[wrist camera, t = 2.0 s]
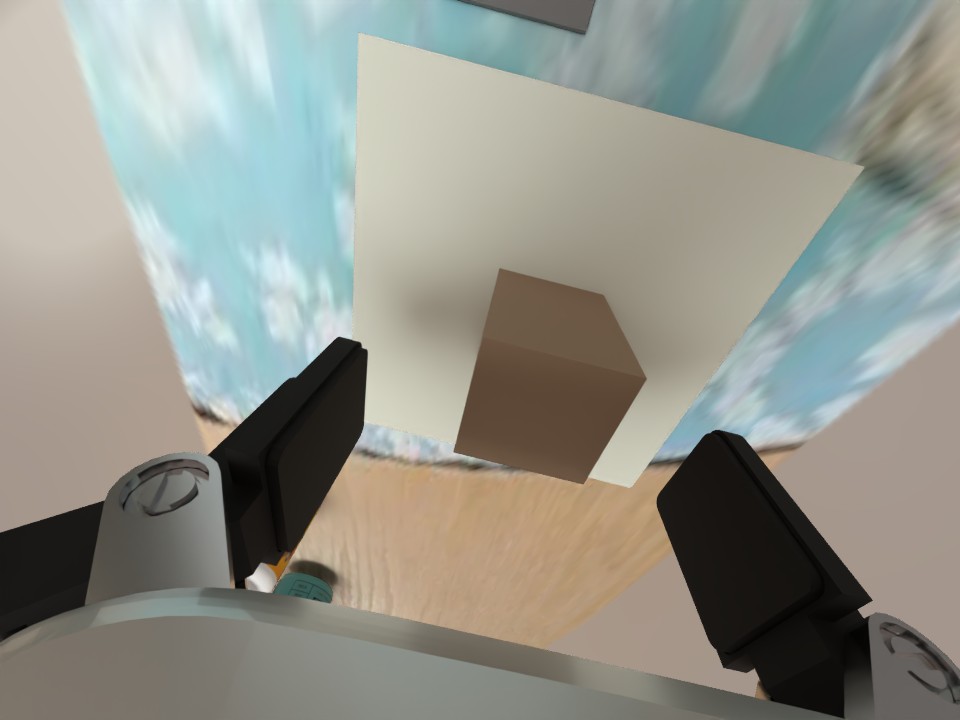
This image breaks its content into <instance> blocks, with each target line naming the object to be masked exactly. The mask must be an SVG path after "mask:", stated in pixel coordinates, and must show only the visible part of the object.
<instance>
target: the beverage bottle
mask: <svg viewBox="0 0 960 720" xmlns="http://www.w3.org/2000/svg"><path fill="white" fill-rule="evenodd" d="M275 586H276V585H275ZM275 586H274V587H275ZM273 593H275V594H282V595H289V596H295V597H300V598H305V599H310V600H315V601H320V602H325V603H330V604H331V601H332V596H333V591H332V589H331V587H330V586H329V585H328V584H327V583H325V582H324V581H322V580H320V579H318V578H316V577H314V576H311V575H308V574H303V573H288V574H286V575H284V576H283V577H282V579H281V580H280V581H278V584H277V586H276V587H275V589H274V590H273Z"/></svg>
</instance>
